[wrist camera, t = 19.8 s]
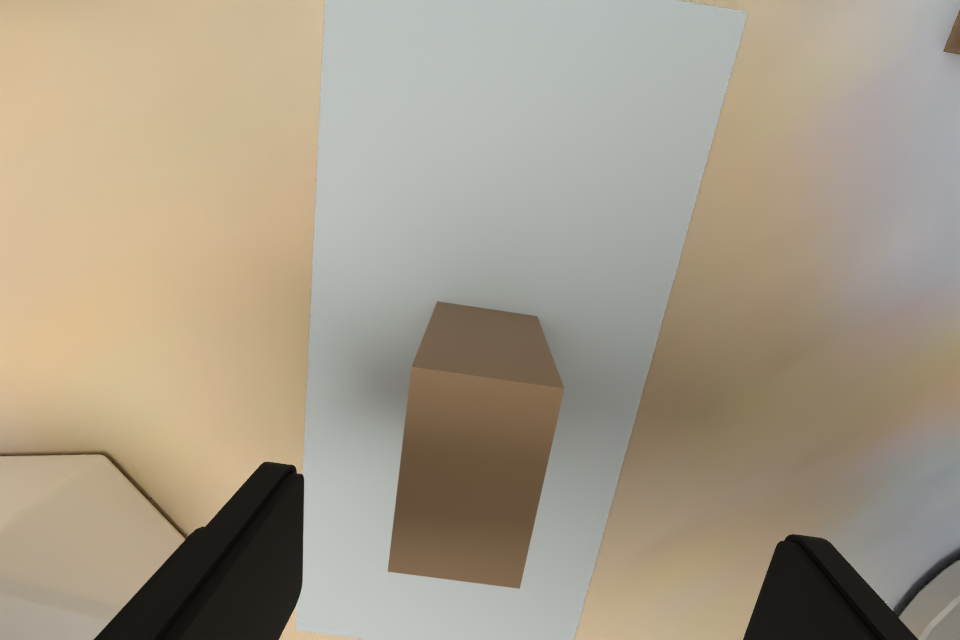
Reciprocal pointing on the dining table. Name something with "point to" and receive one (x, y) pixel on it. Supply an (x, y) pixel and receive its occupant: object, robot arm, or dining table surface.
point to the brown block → (954, 38)
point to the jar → (73, 545)
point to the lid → (490, 297)
